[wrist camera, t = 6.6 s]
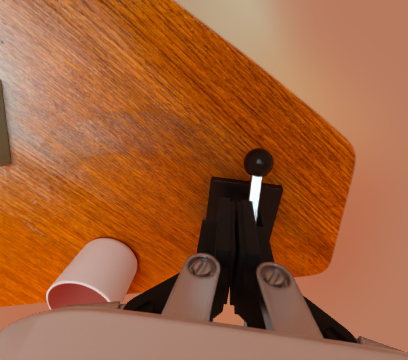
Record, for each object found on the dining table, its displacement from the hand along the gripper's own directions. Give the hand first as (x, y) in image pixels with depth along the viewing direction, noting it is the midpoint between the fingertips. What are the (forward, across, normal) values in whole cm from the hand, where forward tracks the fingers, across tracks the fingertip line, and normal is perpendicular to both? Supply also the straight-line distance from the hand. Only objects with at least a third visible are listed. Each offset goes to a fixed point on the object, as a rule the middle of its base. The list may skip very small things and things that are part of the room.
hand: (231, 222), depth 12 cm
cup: (+20, +18, +24) cm, 36 cm away
